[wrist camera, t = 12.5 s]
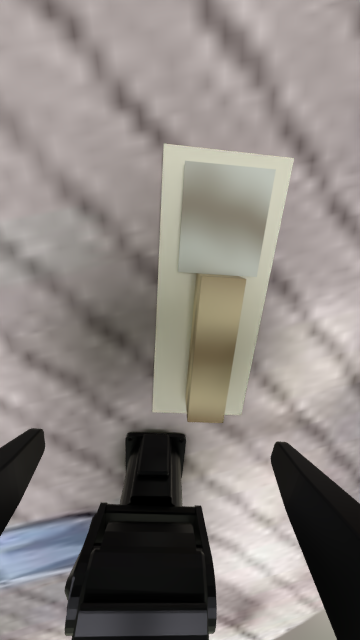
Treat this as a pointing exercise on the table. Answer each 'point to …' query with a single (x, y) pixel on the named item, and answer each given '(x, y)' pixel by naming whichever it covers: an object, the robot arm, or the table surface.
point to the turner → (219, 270)
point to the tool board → (180, 286)
